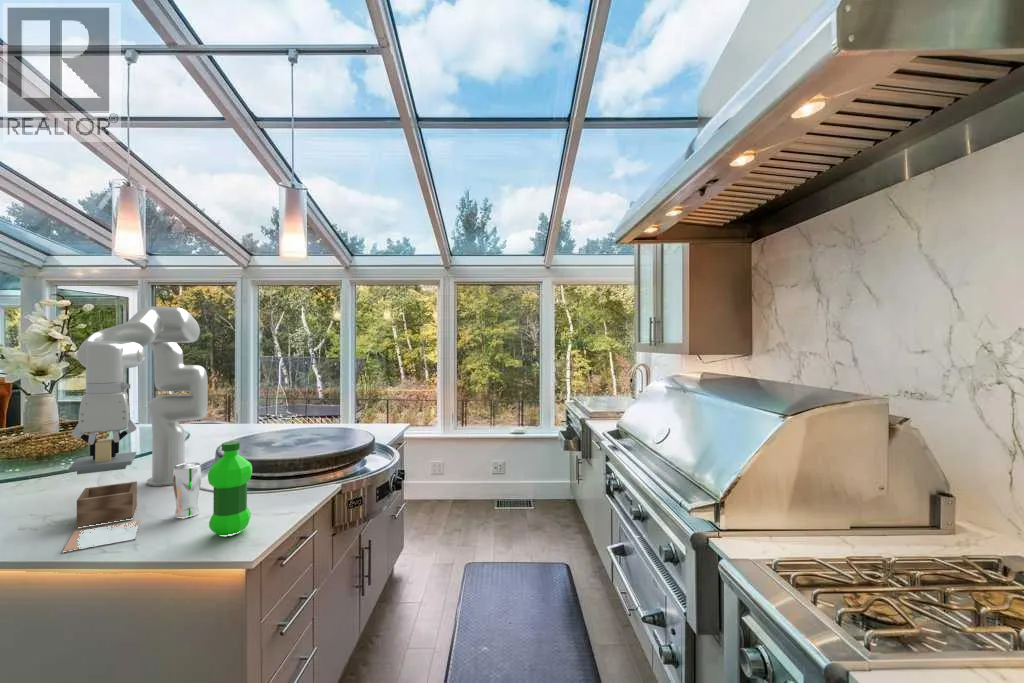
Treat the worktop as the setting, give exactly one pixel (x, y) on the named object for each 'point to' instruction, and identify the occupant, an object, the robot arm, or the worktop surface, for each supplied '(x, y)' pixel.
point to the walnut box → (106, 504)
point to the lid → (102, 459)
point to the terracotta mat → (73, 540)
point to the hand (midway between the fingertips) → (104, 456)
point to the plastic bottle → (230, 491)
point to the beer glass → (186, 488)
